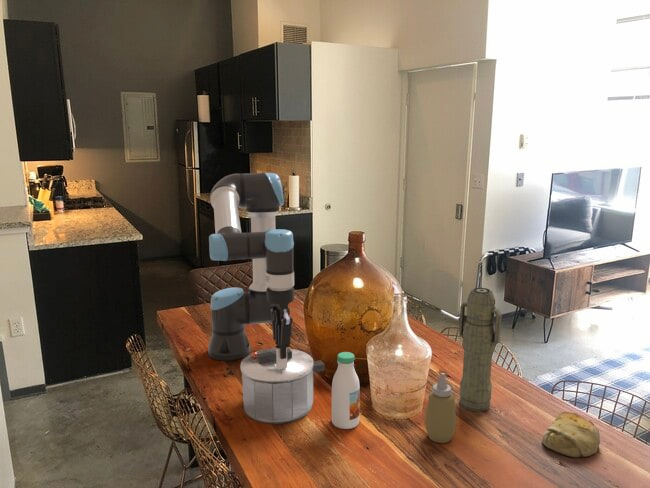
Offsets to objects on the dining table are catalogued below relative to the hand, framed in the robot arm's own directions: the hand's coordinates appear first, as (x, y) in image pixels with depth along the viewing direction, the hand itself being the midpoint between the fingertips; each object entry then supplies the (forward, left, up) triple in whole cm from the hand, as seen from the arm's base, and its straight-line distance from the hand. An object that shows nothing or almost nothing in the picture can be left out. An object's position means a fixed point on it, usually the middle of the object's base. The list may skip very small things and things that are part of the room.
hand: (282, 367), depth 145 cm
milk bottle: (-10, +16, -14) cm, 23 cm away
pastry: (-44, +62, -14) cm, 78 cm away
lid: (-2, -5, -2) cm, 5 cm away
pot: (-3, -4, -14) cm, 15 cm away
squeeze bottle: (-22, +38, -14) cm, 46 cm away
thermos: (-44, +35, -14) cm, 58 cm away
